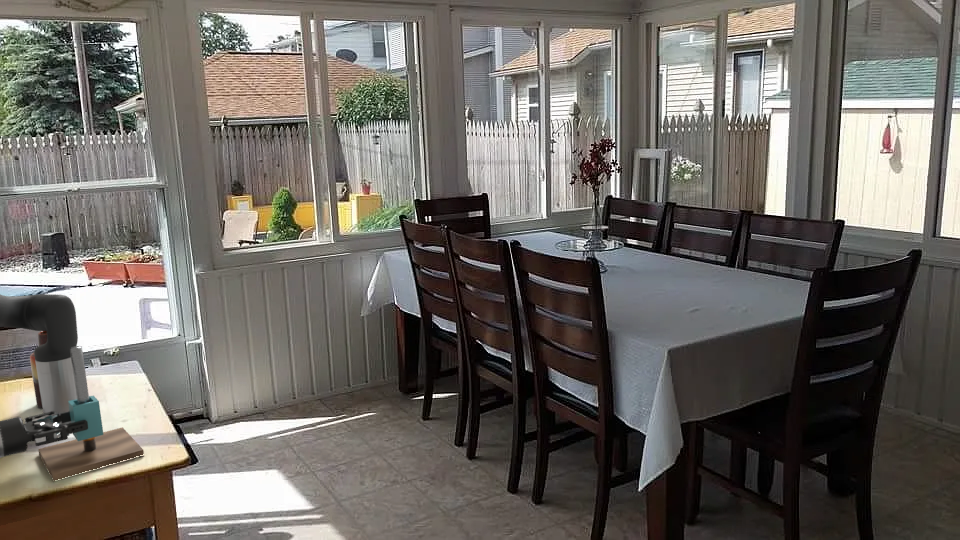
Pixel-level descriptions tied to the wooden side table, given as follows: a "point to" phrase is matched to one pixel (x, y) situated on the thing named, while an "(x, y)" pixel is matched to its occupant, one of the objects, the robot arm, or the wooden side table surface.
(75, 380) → the pipe
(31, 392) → the wooden side table surface
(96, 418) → the sleeve
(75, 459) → the stand board
